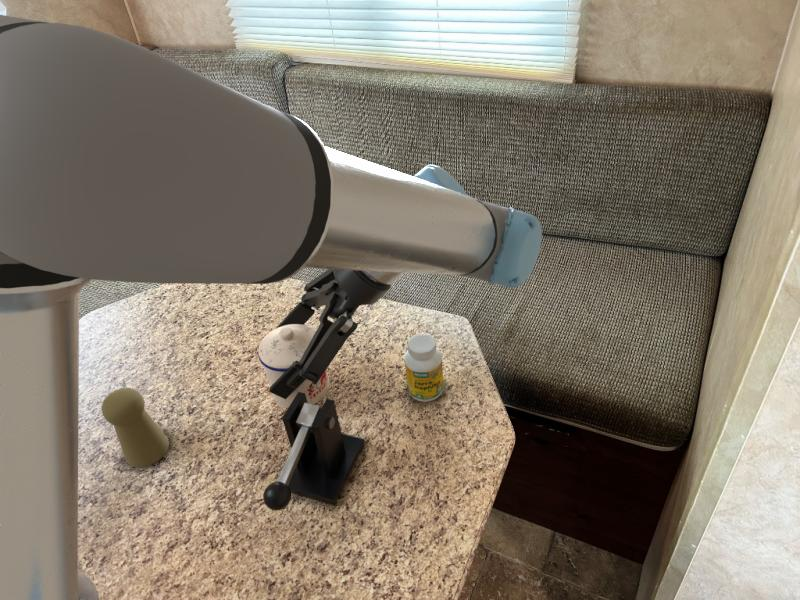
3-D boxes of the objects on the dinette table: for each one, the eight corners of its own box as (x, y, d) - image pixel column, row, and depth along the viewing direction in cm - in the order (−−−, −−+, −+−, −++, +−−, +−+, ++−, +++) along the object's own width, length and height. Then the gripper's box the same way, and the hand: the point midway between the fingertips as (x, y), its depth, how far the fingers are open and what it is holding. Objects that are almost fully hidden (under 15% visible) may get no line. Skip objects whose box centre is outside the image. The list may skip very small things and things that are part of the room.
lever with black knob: (288, 517, 70) (279, 508, 67) (264, 510, 71) (254, 501, 68) (329, 416, 77) (323, 405, 74) (307, 411, 78) (299, 399, 75)
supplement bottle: (438, 373, 93) (435, 326, 87) (448, 398, 89) (445, 351, 83) (404, 380, 92) (399, 334, 86) (412, 406, 88) (407, 360, 82)
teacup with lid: (323, 413, 87) (309, 355, 80) (263, 410, 88) (243, 353, 81) (340, 354, 96) (329, 297, 89) (285, 352, 98) (269, 296, 90)
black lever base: (334, 506, 77) (319, 448, 69) (279, 490, 79) (259, 432, 72) (365, 444, 84) (354, 386, 76) (313, 431, 86) (297, 373, 79)
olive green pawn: (151, 471, 83) (122, 419, 76) (116, 462, 85) (84, 410, 78) (177, 437, 87) (151, 385, 80) (143, 428, 89) (114, 376, 82)
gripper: (402, 340, 72) (298, 436, 82) (387, 231, 91) (304, 320, 100) (352, 311, 69) (249, 415, 78) (347, 204, 87) (265, 299, 97)
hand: (280, 362), depth 89 cm, fingers closed on teacup with lid, 12 cm apart
